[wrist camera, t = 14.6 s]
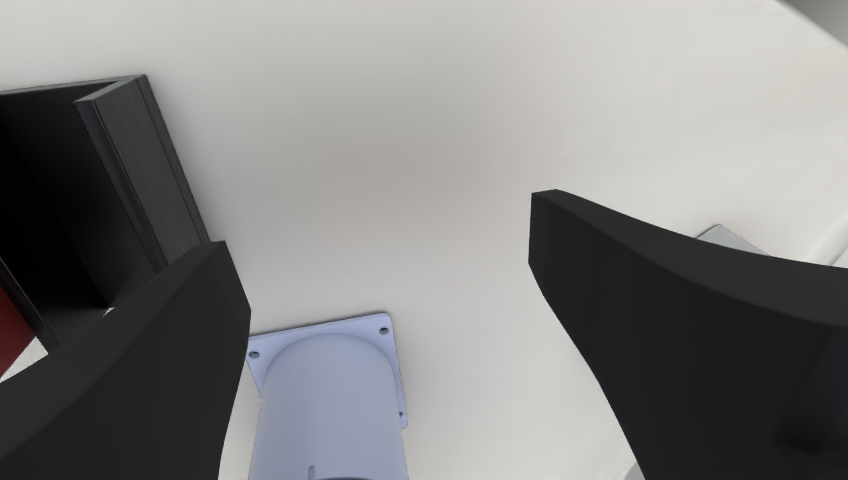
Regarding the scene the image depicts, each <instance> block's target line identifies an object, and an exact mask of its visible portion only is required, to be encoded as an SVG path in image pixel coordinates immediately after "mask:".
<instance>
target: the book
mask: <svg viewBox="0 0 848 480" xmlns="http://www.w3.org/2000/svg"><path fill="white" fill-rule="evenodd" d="M35 337H36V335H35V334H34V333H33V331H32V330H31V328H30V327H29V326H28V324H27V323H26V321H25V320H24V319H23V317H22V316H21V314H20V313H19V311H18V310H17V309H16V307H15V306H14V304H13V303H12V302H11V300H10V299H9V297H8V296H7V295H6V293H5V292H4V290H3V289H2V288H1V286H0V378H1V377H2V376H3V375H4V374H5V372H6V371H7V370H8V369H9V368H10V366H11V365H12V364H13V363H14V362H15V360H16V359H17V358H18V357H19V356H20V355H21V353H22V352H23V351H24V350H25V349H26V347H27V346H28V345H29V344H30V343H31V342H32V340H33V339H34V338H35Z"/></svg>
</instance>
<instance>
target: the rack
mask: <svg viewBox="0 0 848 480" xmlns="http://www.w3.org/2000/svg"><path fill="white" fill-rule="evenodd" d="M204 243H211V242H210V239H209V237H208V234H207V232H206V229H205V227H204V224H203V221H202V219H201V216H200V214H199V211H198V208H197V206H196V203H195V201H194V198H193V196H192V193H191V190H190V188H189V185H188V183H187V180H186V178H185V175H184V172H183V170H182V167H181V165H180V162H179V159H178V157H177V154H176V152H175V149H174V147H173V144H172V141H171V139H170V136H169V134H168V131H167V128H166V126H165V123H164V121H163V118H162V116H161V113H160V110H159V108H158V105H157V103H156V100H155V98H154V95H153V92H152V90H151V87H150V85H149V82H148V79H147V77H146V75H145V74H142V75H133V76H125V77H116V78H108V79H99V80H91V81H82V82H74V83H65V84H57V85H48V86H40V87H31V88H23V89H15V90H6V91H0V286H1V288H2V289H3V290H4V292H5V293H6V295H7V296H8V297H9V299H10V300H11V302H12V303H13V304H14V306H15V307H16V309H17V310H18V311H19V313H20V314H21V316H22V317H23V319H24V320H25V321H26V323H27V324H28V326H29V327H30V328H31V330H32V331H33V333H34V334H35V335H36V337H37V338H38V340H39V341H40V342H41V344H42V345H43V347H44V348H45V349H46V351H47V352H48V354H50V353H51V352H53V351H54V350H56V349H57V348H59V347H61V346H62V345H64V344H65V343H67V342H68V341H70V340H71V339H72V338H74V337H75V336H77V335H78V334H80V333H81V332H83V331H84V330H86V329H87V328H88V327H90V326H91V325H92V324H94V323H95V322H96V321H98V320H99V319H100V318H102V317H103V316H104V314H105V313H106V311H107V310H108V308H113V307H116V306H118V305H119V304H120V303H122V302H123V301H125V300H126V299H127V298H128V297H130V296H131V295H132V294H134V293H135V292H136V291H137V290H139V289H140V288H141V287H142V286H144V285H145V284H146V283H147V282H149V281H150V280H151V279H152V278H154V277H155V276H156V275H157V274H158V273H160V272H161V271H162V270H163V269H165V268H166V267H167V266H168V265H170V264H171V263H172V262H173V261H175V260H176V259H177V258H179V257H180V256H181V255H182V254H184V253H185V252H187V251H188V250H189V249H191V248H192V247H194V246H196V245H198V244H204Z"/></svg>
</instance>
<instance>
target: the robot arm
mask: <svg viewBox="0 0 848 480" xmlns="http://www.w3.org/2000/svg"><path fill="white" fill-rule="evenodd" d="M528 263H529V266H530V268H531V270H532V273H533V275H534V277H535V279H536V282H537V284H538V286H539V288H540V290H541V292H542V294H543V296H544V298H545V299H546V301H547V302H548V304H549V306H550V307H551V309H552V310H553V312H554V313H555V315H556V316H557V318H558V320H559V321H560V323H561V324H562V326H563V327H564V329H565V330H566V332H567V333H568V335H569V336H570V338H571V339H572V341H573V342H574V344H575V346H576V347H577V349H578V350H579V352H580V353H581V355H582V356H583V358H584V359H585V361H586V362H587V364H588V365H589V367H590V369H591V370H592V372H593V374H594V376H595V377H596V379H597V381H598V382H599V384H600V386H601V388H602V390H603V392H604V394H605V396H606V398H607V400H608V402H609V404H610V406H611V408H612V410H613V412H614V414H615V416H616V418H617V420H618V422H619V424H620V426H621V428H622V430H623V432H624V434H625V437H626V439H627V441H628V443H629V445H630V447H631V449H632V451H633V453H634V455H635V458H636V460H637V462H638V464H639V466H640V469H641V471H642V473H643V475H644V478H645V480H848V268H840V267H834V266H826V265H819V264H813V263H807V262H800V261H794V260H788V259H783V258H778V257H773V256H768V255H763V254H757V253H752V252H748V251H743V250H739V249H734V248H730V247H726V246H722V245H718V244H715V243H711V242H707V241H703V240H699V239H696V238H692V237H689V236H685V235H682V234H679V233H676V232H673V231H670V230H667V229H664V228H661V227H658V226H655V225H652V224H649V223H646V222H643V221H641V220H638V219H635V218H633V217H630V216H627V215H625V214H622V213H620V212H617V211H614V210H612V209H609V208H607V207H604V206H602V205H599V204H597V203H594V202H592V201H589V200H587V199H584V198H582V197H579V196H576V195H574V194H571V193H568V192H565V191H561V190H557V189H554V190H548V191H541V192H535V193H532V197H531V217H530V237H529V257H528ZM250 319H251V308H250V305H249V303H248V300H247V297H246V295H245V292H244V289H243V287H242V284H241V282H240V279H239V276H238V274H237V271H236V268H235V266H234V263H233V260H232V258H231V255H230V252H229V250H228V247H227V245H226V242H225V240H224V241H217V242H211V243H204V244H198V245H196V246H194V247H192V248H191V249H189V250H188V251H187V252H185V253H184V254H182V255H181V256H180V257H179V258H177V259H176V260H175V261H173V262H172V263H171V264H170V265H168V266H167V267H166V268H165V269H163V270H162V271H161V272H160V273H158V274H157V275H156V276H155V277H154V278H152V279H151V280H150V281H149V282H147V283H146V284H145V285H144V286H142V287H141V288H140V289H139V290H137V291H136V292H135V293H134V294H132V295H131V296H130V297H128V298H127V299H126V300H125V301H123V302H122V303H120V304H119V305H118V306H116V307H115V308H114V309H112V310H111V311H110V312H108V313H107V314H106V315H104V316H103V317H102V318H100V319H99V320H98V321H96V322H95V323H94V324H92V325H91V326H90V327H88V328H87V329H86V330H84V331H83V332H81V333H80V334H78V335H77V336H75V337H74V338H72V339H71V340H70V341H68V342H67V343H65V344H64V345H62V346H61V347H59V348H57V349H56V350H54V351H53V352H51V353H50V354H48V355H46V356H45V357H43V358H42V359H40V360H38V361H37V362H35V363H34V364H32V365H31V366H29V367H27V368H26V369H24V370H22V371H21V372H19V373H17V374H16V375H14V376H12V377H10V378H8V379H7V380H5V381H3V382H1V383H0V480H218V475H219V468H220V460H221V455H222V450H223V445H224V440H225V436H226V432H227V428H228V424H229V420H230V416H231V412H232V408H233V404H234V401H235V397H236V393H237V389H238V385H239V381H240V377H241V373H242V369H243V365H244V361H245V358H246V361H247V363H248V366H249V368H250V371H251V373H252V376H253V378H254V381H255V383H256V386H257V388H258V391H259V393H260V395H261V398H262V399H261V405H260V411H259V417H258V422H257V428H256V434H255V439H254V445H253V451H252V457H251V462H250V468H249V474H248V480H409V476H408V470H407V463H406V456H405V450H404V443H403V436H402V430H401V429H404V428H405V427H406V426H407V425H408V419H407V413H406V407H405V401H404V395H403V388H402V382H401V376H400V370H399V364H398V358H397V352H396V345H395V339H394V333H393V327H392V321H391V317H390V316H389V315H388V314H386V313H379V314H373V315H368V316H362V317H357V318H351V319H346V320H340V321H334V322H329V323H323V324H318V325H312V326H307V327H301V328H296V329H290V330H285V331H279V332H274V333H268V334H262V335H257V336H251V337H249V331H250ZM383 327H386V328H387V329H385V330H380V329H381V328H383ZM253 351H255V352H258V353H257V354H254V353H252V352H253Z"/></svg>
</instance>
